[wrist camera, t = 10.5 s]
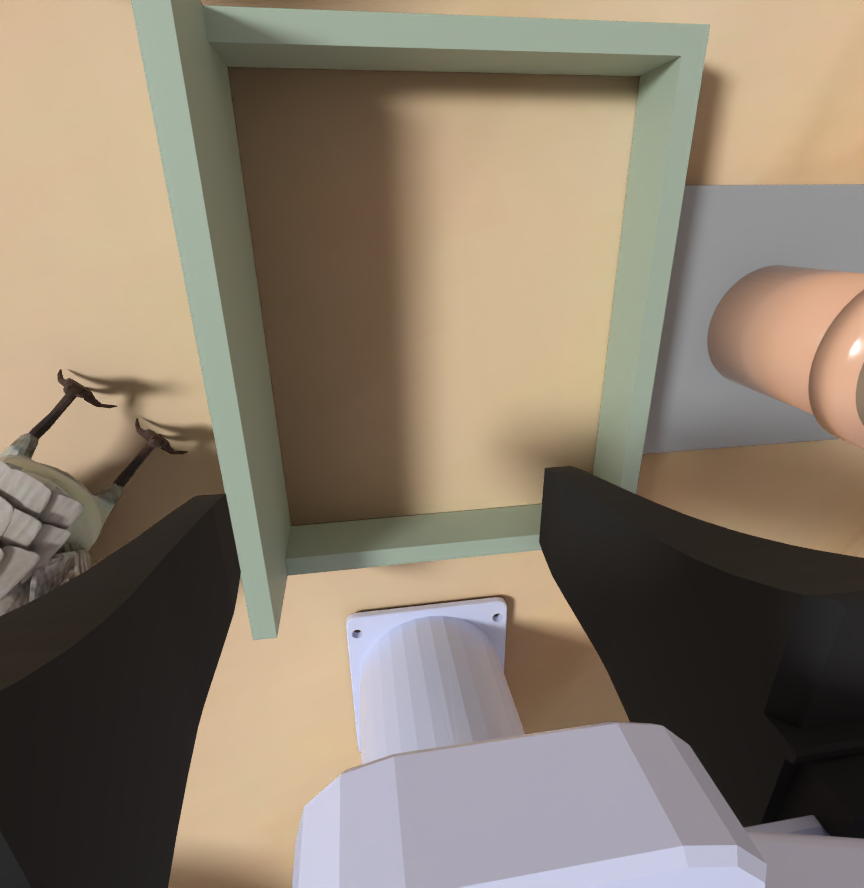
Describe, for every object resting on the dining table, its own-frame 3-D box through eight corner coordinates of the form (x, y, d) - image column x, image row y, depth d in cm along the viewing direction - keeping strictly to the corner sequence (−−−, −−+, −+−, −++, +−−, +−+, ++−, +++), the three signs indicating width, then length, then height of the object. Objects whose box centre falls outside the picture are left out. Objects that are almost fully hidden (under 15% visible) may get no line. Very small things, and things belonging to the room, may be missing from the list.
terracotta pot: (805, 388, 24) (975, 450, 17) (687, 396, 23) (819, 463, 17) (842, 253, 22) (1053, 265, 15) (712, 256, 21) (877, 271, 14)
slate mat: (835, 433, 26) (846, 438, 25) (625, 449, 24) (632, 454, 24) (913, 185, 21) (927, 184, 21) (663, 186, 20) (672, 185, 19)
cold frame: (603, 512, 26) (673, 591, 20) (274, 543, 23) (253, 640, 18) (664, 49, 18) (800, -25, 13) (196, 34, 16) (119, -62, 11)
